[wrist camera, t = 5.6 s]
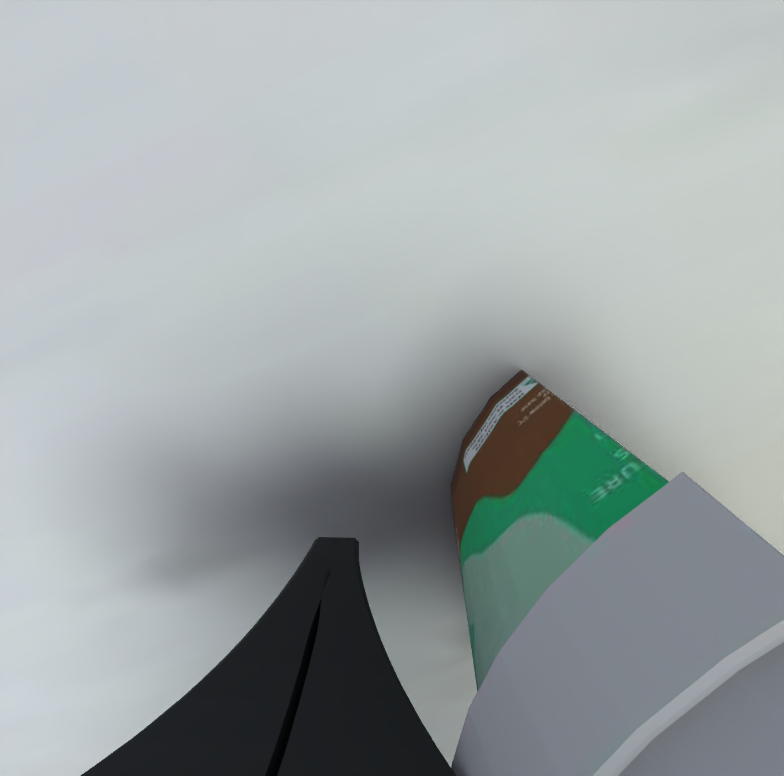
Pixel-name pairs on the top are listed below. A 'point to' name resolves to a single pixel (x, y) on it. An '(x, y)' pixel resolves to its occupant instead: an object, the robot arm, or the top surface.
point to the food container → (608, 608)
